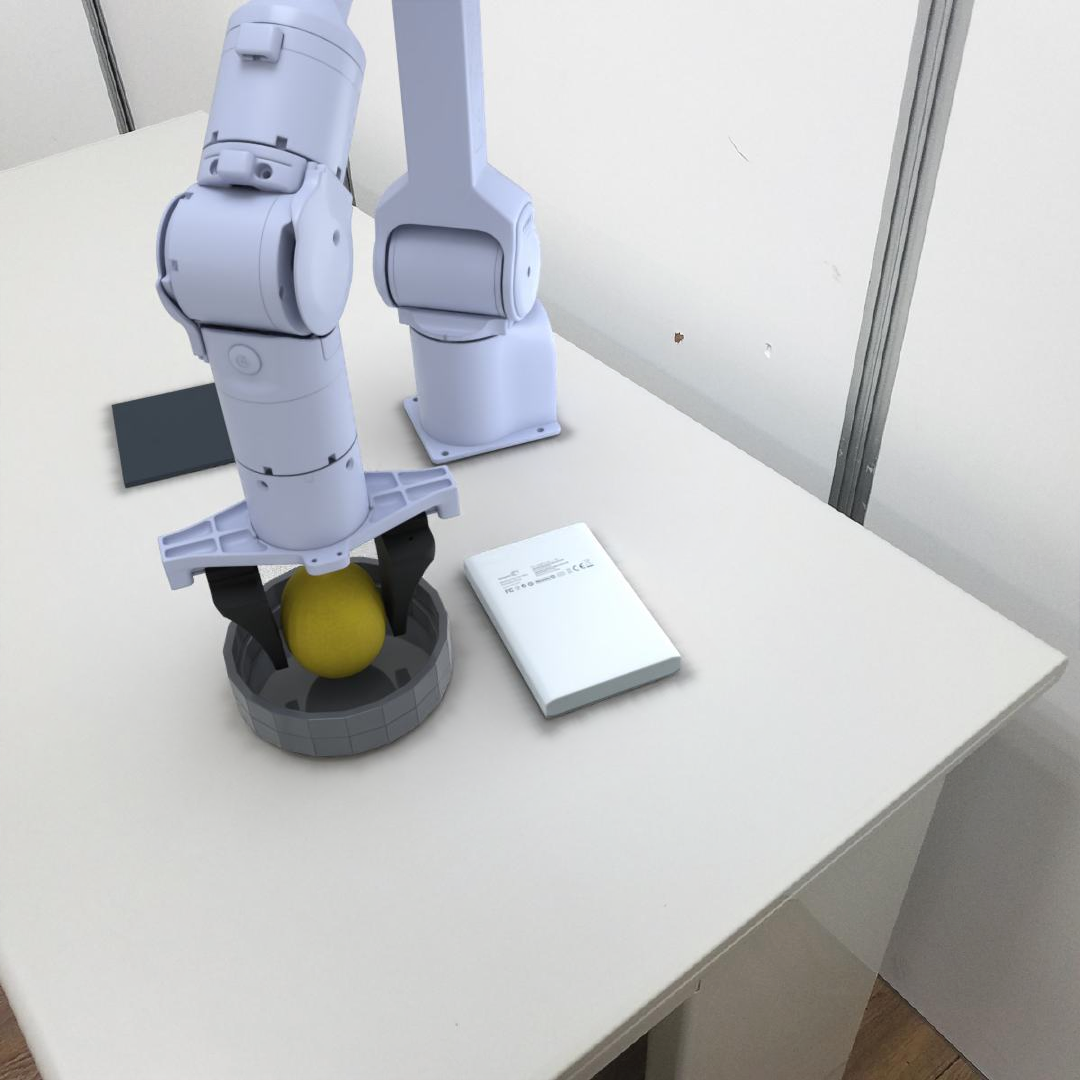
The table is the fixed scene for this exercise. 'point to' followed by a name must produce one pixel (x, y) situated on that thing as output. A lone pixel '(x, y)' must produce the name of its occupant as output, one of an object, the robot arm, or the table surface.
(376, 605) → the lemon
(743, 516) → the table surface
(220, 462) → the mat
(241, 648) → the pan
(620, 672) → the hard drive
